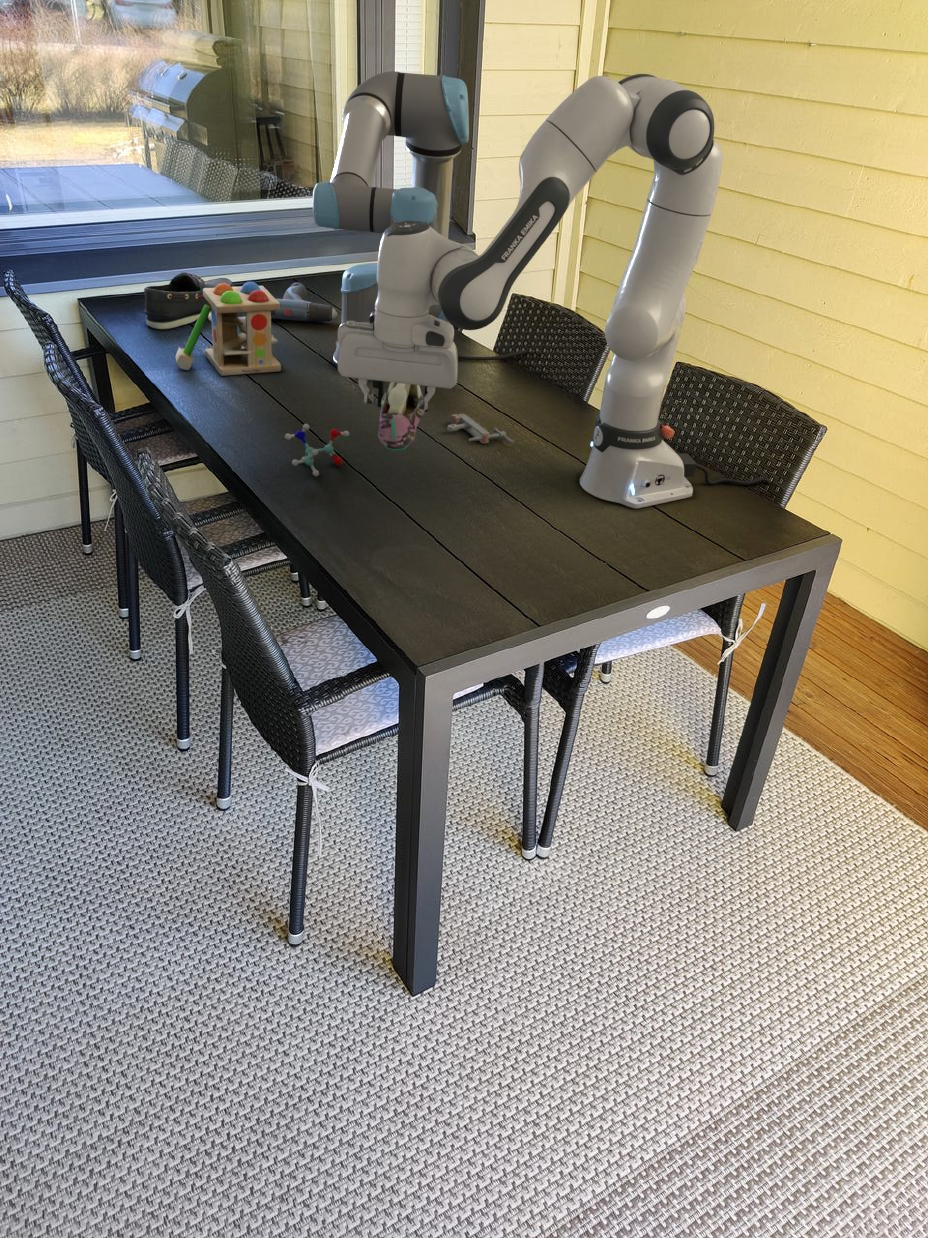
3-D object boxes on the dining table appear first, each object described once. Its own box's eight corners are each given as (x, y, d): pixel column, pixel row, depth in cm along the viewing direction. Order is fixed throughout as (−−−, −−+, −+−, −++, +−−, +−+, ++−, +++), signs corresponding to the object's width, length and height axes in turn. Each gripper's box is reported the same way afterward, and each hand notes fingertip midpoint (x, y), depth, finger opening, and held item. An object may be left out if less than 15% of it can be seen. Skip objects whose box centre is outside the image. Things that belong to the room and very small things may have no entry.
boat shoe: (255, 307, 269) (253, 268, 263) (164, 331, 245) (159, 289, 239) (221, 298, 274) (218, 260, 269) (128, 321, 250) (123, 279, 245)
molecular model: (334, 468, 182) (316, 416, 180) (292, 484, 185) (274, 433, 184) (360, 462, 192) (343, 413, 191) (320, 477, 196) (303, 429, 194)
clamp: (439, 415, 210) (479, 410, 214) (438, 425, 211) (478, 419, 216) (475, 444, 199) (516, 437, 204) (474, 454, 201) (515, 447, 205)
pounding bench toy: (183, 379, 220) (176, 299, 210) (169, 357, 231) (162, 280, 221) (282, 371, 230) (280, 294, 220) (264, 350, 240) (262, 276, 230)
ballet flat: (427, 402, 189) (430, 358, 185) (417, 455, 169) (420, 408, 165) (384, 398, 189) (386, 354, 184) (369, 451, 169) (370, 404, 164)
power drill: (344, 304, 276) (335, 327, 259) (277, 298, 275) (264, 321, 258) (344, 285, 273) (335, 306, 256) (277, 279, 272) (264, 300, 255)
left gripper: (347, 284, 170) (345, 408, 182) (467, 296, 170) (457, 419, 183) (353, 272, 176) (351, 393, 189) (468, 284, 176) (458, 403, 189)
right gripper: (335, 325, 158) (333, 405, 166) (461, 339, 159) (453, 419, 167) (340, 313, 163) (338, 391, 171) (462, 326, 164) (454, 404, 172)
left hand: (403, 406), depth 186 cm, fingers closed on ballet flat, 8 cm apart
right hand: (396, 405), depth 169 cm, fingers open, 8 cm apart
